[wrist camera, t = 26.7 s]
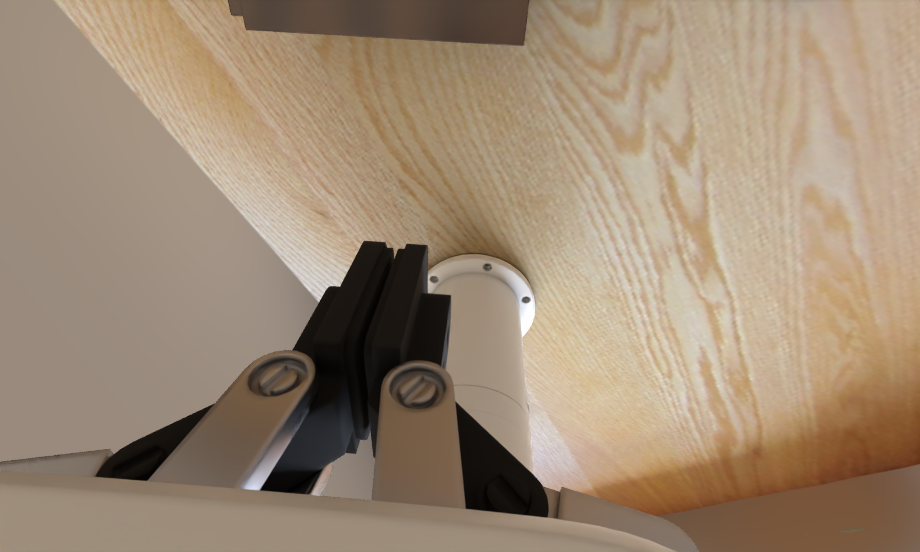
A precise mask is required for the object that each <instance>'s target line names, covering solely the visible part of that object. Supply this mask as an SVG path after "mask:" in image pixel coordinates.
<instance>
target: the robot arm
mask: <svg viewBox="0 0 920 552" xmlns="http://www.w3.org/2000/svg"><path fill="white" fill-rule="evenodd" d="M534 314H535V301H534V295H533V292H532V289H531V286H530V284H529V283H528V281H527V279H526V278H525V277H524V276H523V275H522V273H521V272H520V271H519V270H518V269H516V268H515V267H513V266H512V265H511V264H509V263H507V262H505V261H503V260H501V259H498V258H495V257H491V256H488V255H479V254H467V255H459V256H455V257H451V258H448V259H446V260H444V261H442V262H440V263H438V264H437V265H435V266H434V267H432V268H431V269H430V270H429V271H428V246H427V245H417V244H406V247H405V249H398V251H397V253H396V256H395V259H394V250H393V248H387V245H386V243H385V242H374V241H364V242H363V243H362V245H361V247H360V249H359V251H358V253H357V255H356V257H355V259H354V261H353V263H352V265H351V267H350V269H349V271H348V272H347V274H346V276H345V278H344V280H343V282H342V284H341V286H340V287H336V286H330V287H328V288H327V290H326V291H325V293H324V295H323V297H322V298H321V300H320V302H319V304H318V306H317V307H316V309H315V311H314V313H313V314H312V316H311V318H310V320H309V322H308V324H307V325H306V327H305V329H304V330H303V332H302V334H301V336H300V338H299V339H298V341H297V343H296V345H295V347H294V348H293V350H292V351H291V350H284V351H277V352H273V353H270V354H267V355H264V356H262V357H260V358H259V359H257V360H255V361H253V362H252V363H251V364H250V365H249V366H248V367H247V368H246V369H245V370H244V371H243V372H242V373H241V374H240V376H239V377H238V378H237V379H236V380H235V381H234V382H233V384H232V385H231V386H230V387H229V388H228V389H227V391H225V393H224V394H223V395H222V396H221V397H220V398H219V399H218V401H217V402H216V403H215V404H213V405H211V406H208V407H206V408H204V409H202V410H200V411H198V412H196V413H193V414H192V415H189V416H187V417H185V418H183V419H181V420H179V421H176V422H174V423H172V424H170V425H168V426H166V427H164V428H162V429H160V430H157V431H155V432H153V433H151V434H149V435H147V436H145V437H143V438H140V439H138V440H136V441H134V442H132V443H131V444H129V445H127V446H125V447H124V448H122V449H120V450H119V451H118V452H117V453H115V454H113V452H112V451H111V450H110V449H105V450H96V451H87V452H80V453H70V454H62V455H54V456H45V457H37V458H28V459H20V460H11V461H4V462H0V552H700V551H699V550H698V549H697V547H696V545H695V544H694V543H693V541H692V540H691V538H690V537H689V536H688V535H687V534H686V533H685V532H684V531H683V530H681V529H680V528H679V527H678V526H677V525H675V524H673V523H671V522H669V521H667V520H665V519H662V518H660V517H657V516H654V515H650V514H647V513H644V512H641V511H638V510H634V509H631V508H628V507H625V506H621V505H618V504H615V503H612V502H609V501H605V500H602V499H599V498H596V497H593V496H589V495H586V494H583V493H580V492H576V491H573V490H570V489H567V488H564V487H561V490H560V492H559V491H555V490H552V489H549V488H546V487H543V486H542V484H541V483H540V482H539V481H538V479H537V478H536V475H535V466H534V458H533V448H532V438H531V427H530V417H529V404H528V394H527V383H526V372H525V361H524V350H523V339H522V337H523V336H524V334H525V333H526V332H527V331H528V329H529V327H530V326H531V324H532V321H533V318H534ZM370 430H371V439H372V448H373V456H374V458H375V468H374V478H373V490H372V500H362V499H351V498H340V497H328V496H321V494H322V492H323V490H324V488H325V486H326V483H327V482H328V480H329V478H330V475H331V472H332V470H333V461H335V460H336V459H338V458H339V457H341V456H342V455H344V454H345V453H353V454H354V453H355V454H356V452H357V448H358V445H359V442H360V440H367V439H368V436H369V433H370Z"/></svg>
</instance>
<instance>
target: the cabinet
mask: <svg viewBox="0 0 920 552" xmlns="http://www.w3.org/2000/svg"><path fill="white" fill-rule="evenodd" d="M240 3H241V8H242V13H243V18H244V23H245V28H246V30H256V31H273V32H290V33H308V34H325V35H342V36H359V37H376V38H393V39H410V40H428V41H445V42H462V43H479V44H496V45H513V46H524V41H525V32H526V23H527V14H528V6H529V0H240Z"/></svg>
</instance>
